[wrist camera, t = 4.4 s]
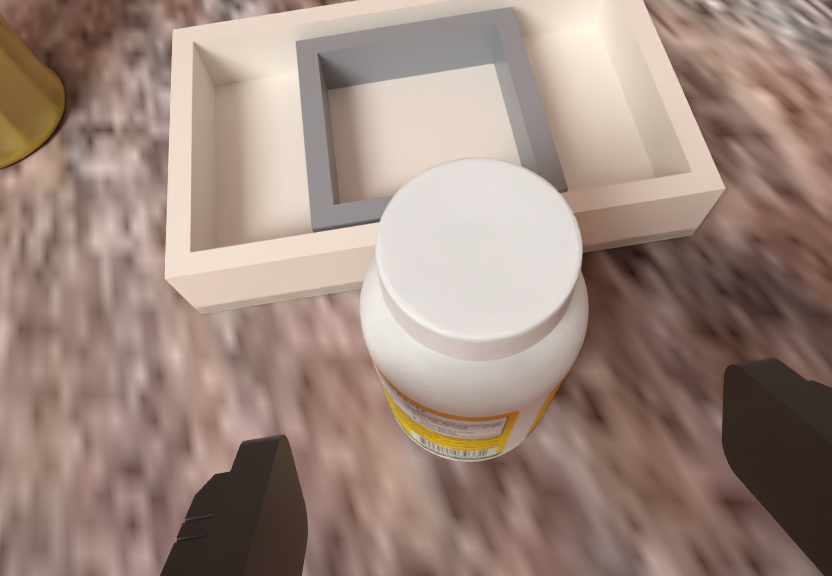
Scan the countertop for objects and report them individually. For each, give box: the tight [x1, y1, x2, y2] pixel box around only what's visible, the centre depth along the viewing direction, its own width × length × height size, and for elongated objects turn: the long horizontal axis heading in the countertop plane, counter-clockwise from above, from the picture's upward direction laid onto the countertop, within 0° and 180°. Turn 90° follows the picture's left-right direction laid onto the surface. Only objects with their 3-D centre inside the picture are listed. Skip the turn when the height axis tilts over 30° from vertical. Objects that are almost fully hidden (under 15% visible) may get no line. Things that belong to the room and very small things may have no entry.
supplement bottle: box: [360, 158, 589, 462], centre depth 16 cm, size 5×5×10 cm
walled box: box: [165, 0, 726, 314], centre depth 23 cm, size 18×11×3 cm, turn 99°
